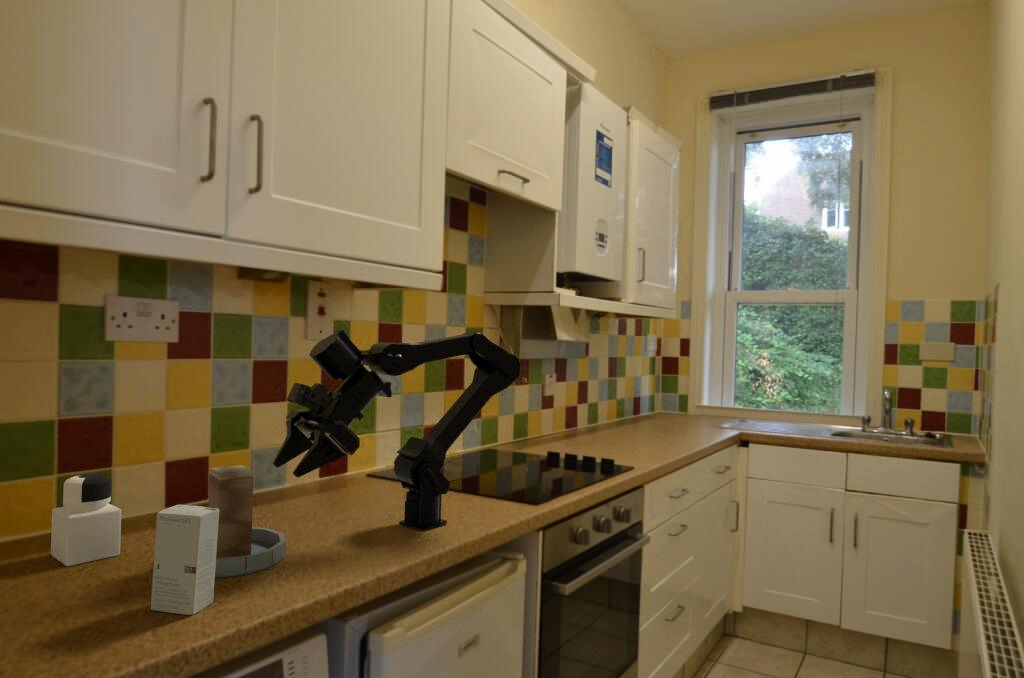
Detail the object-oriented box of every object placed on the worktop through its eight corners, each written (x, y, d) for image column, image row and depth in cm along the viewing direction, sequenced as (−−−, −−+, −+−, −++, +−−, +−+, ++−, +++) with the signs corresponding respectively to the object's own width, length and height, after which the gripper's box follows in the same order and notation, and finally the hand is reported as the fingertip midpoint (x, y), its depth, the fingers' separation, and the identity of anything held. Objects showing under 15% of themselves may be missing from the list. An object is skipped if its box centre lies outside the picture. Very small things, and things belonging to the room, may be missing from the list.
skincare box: (148, 611, 79) (152, 512, 79) (173, 597, 84) (176, 503, 84) (194, 616, 78) (198, 516, 78) (217, 601, 83) (220, 506, 83)
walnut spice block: (240, 547, 102) (243, 464, 102) (250, 556, 98) (253, 470, 98) (206, 553, 99) (209, 468, 99) (215, 562, 95) (218, 473, 95)
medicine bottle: (103, 545, 103) (105, 469, 103) (120, 555, 98) (123, 476, 98) (49, 555, 97) (52, 475, 97) (65, 567, 93) (68, 483, 93)
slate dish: (246, 536, 110) (247, 521, 110) (305, 557, 100) (306, 540, 100) (148, 560, 97) (149, 543, 97) (205, 586, 87) (206, 568, 87)
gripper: (298, 363, 114) (231, 430, 107) (342, 368, 100) (268, 446, 93) (339, 406, 119) (278, 472, 112) (387, 416, 105) (320, 493, 98)
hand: (284, 470), depth 104 cm, fingers open, 9 cm apart
